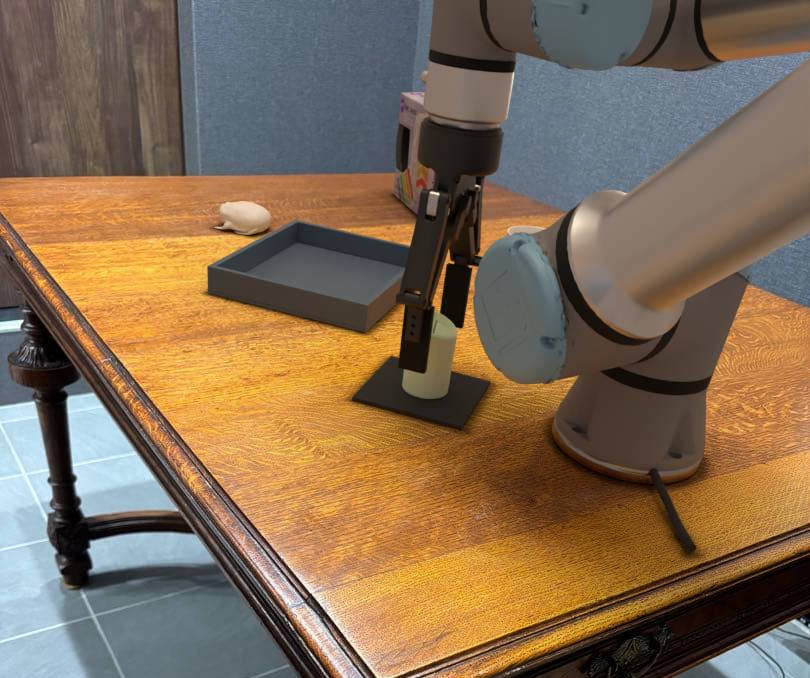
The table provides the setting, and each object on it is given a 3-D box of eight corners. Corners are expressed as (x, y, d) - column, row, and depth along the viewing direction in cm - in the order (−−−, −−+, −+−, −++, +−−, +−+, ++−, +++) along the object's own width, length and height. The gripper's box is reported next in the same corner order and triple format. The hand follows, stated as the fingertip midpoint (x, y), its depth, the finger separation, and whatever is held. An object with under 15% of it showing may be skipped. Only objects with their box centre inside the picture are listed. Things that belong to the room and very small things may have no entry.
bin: (365, 333, 99) (367, 305, 97) (207, 293, 103) (206, 265, 101) (428, 274, 119) (431, 250, 117) (294, 243, 123) (295, 219, 121)
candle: (456, 389, 88) (468, 317, 83) (433, 404, 85) (444, 330, 80) (417, 374, 90) (427, 303, 85) (393, 388, 87) (402, 315, 82)
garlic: (209, 228, 124) (209, 202, 121) (230, 218, 129) (230, 193, 127) (257, 239, 122) (257, 213, 120) (276, 228, 128) (277, 203, 125)
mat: (461, 429, 82) (462, 426, 82) (351, 400, 84) (352, 396, 84) (490, 384, 91) (490, 381, 91) (390, 358, 94) (391, 355, 93)
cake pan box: (388, 192, 153) (399, 87, 143) (413, 193, 155) (426, 89, 144) (420, 223, 139) (434, 109, 129) (447, 224, 141) (463, 112, 130)
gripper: (460, 99, 82) (433, 302, 95) (374, 131, 63) (355, 382, 75) (532, 111, 81) (495, 316, 93) (466, 148, 61) (431, 401, 74)
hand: (432, 346), depth 84 cm, fingers open, 13 cm apart
